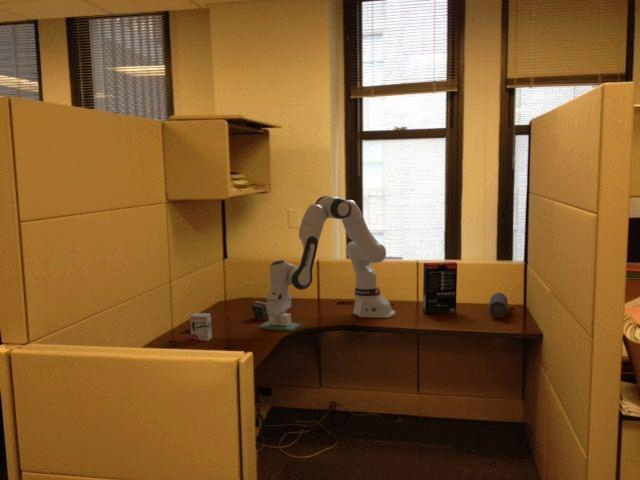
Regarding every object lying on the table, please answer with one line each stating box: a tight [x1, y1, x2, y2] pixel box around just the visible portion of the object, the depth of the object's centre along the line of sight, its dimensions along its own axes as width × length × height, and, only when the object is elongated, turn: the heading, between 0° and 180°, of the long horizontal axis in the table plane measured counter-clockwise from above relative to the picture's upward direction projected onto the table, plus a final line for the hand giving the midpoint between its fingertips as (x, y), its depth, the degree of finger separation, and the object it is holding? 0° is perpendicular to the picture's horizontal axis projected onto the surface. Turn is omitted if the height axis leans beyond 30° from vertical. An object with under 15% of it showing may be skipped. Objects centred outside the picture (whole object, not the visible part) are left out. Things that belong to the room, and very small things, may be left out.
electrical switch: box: [251, 300, 269, 321], centre depth 302 cm, size 9×5×9 cm, turn 47°
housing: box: [268, 312, 292, 326], centre depth 284 cm, size 10×5×5 cm, turn 67°
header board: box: [258, 320, 302, 332], centre depth 284 cm, size 18×10×5 cm, turn 67°
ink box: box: [189, 312, 213, 342], centre depth 267 cm, size 8×5×12 cm, turn 81°
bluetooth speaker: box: [488, 292, 509, 318], centre depth 300 cm, size 23×9×10 cm, turn 161°
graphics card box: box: [422, 261, 458, 315], centre depth 305 cm, size 17×7×27 cm, turn 98°
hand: (280, 320), depth 284 cm, fingers closed on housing, 4 cm apart
